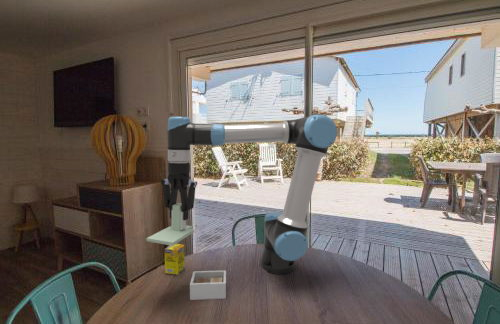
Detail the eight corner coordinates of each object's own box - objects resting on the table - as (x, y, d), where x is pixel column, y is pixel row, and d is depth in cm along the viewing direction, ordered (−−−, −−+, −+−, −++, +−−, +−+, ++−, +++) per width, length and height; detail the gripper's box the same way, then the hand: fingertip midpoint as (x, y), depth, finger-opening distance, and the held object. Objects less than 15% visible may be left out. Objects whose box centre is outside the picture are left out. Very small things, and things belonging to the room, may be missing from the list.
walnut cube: (207, 288, 98) (207, 278, 98) (206, 294, 95) (206, 284, 94) (196, 288, 98) (196, 278, 98) (195, 295, 94) (195, 284, 94)
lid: (174, 226, 102) (174, 200, 101) (197, 229, 99) (198, 202, 98) (146, 241, 87) (146, 210, 86) (172, 245, 84) (172, 214, 83)
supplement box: (178, 276, 108) (178, 250, 107) (164, 275, 109) (164, 248, 108) (185, 269, 114) (184, 244, 113) (171, 268, 115) (171, 243, 114)
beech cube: (222, 288, 99) (222, 277, 99) (221, 294, 95) (221, 283, 95) (211, 288, 99) (211, 277, 98) (210, 294, 95) (210, 283, 94)
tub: (226, 285, 102) (226, 270, 101) (225, 300, 93) (225, 283, 92) (193, 286, 101) (193, 271, 100) (190, 301, 92) (189, 284, 91)
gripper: (152, 161, 93) (153, 228, 95) (193, 164, 88) (193, 234, 90) (166, 160, 100) (166, 222, 102) (204, 162, 95) (204, 227, 97)
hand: (178, 227), depth 96 cm, fingers closed on lid, 3 cm apart
